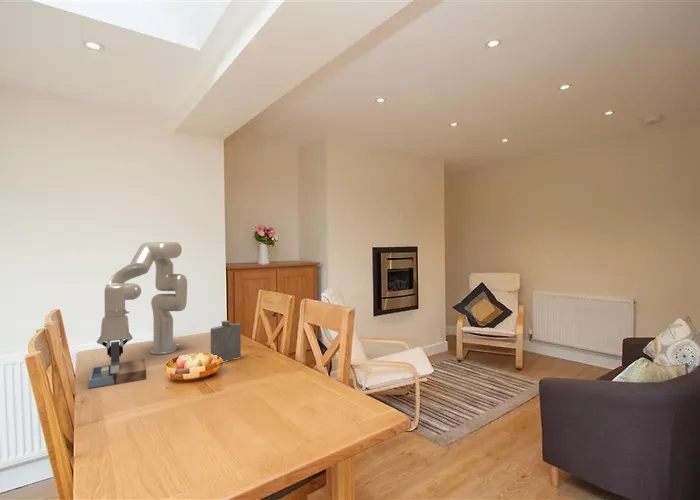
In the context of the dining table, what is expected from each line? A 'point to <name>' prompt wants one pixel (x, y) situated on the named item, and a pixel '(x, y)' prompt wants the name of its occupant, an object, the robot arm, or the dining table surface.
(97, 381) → the slate blue box
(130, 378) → the walnut board
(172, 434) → the dining table surface
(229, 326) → the hip flask
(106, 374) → the sage tile
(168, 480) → the dining table surface
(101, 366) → the cream tile
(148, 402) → the dining table surface
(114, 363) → the scraper
